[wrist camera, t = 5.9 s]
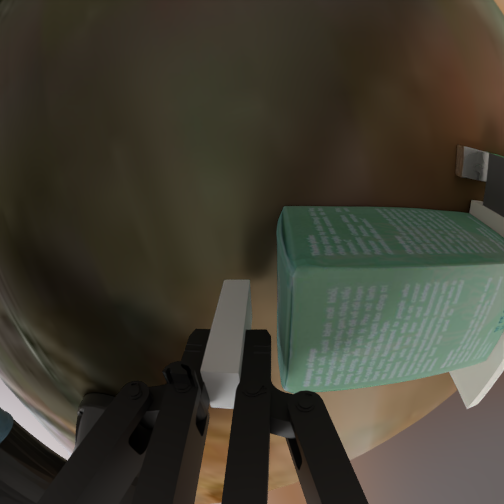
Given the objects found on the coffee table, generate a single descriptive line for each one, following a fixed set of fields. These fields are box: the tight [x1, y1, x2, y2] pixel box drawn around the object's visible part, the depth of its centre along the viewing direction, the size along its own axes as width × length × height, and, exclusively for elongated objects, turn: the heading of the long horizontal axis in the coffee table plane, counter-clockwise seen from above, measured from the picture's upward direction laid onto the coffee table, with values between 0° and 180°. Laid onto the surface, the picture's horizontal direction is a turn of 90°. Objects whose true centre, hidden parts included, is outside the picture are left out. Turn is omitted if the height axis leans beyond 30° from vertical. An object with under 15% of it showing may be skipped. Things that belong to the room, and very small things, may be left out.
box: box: [276, 206, 504, 393], centre depth 13 cm, size 7×14×8 cm, turn 93°
